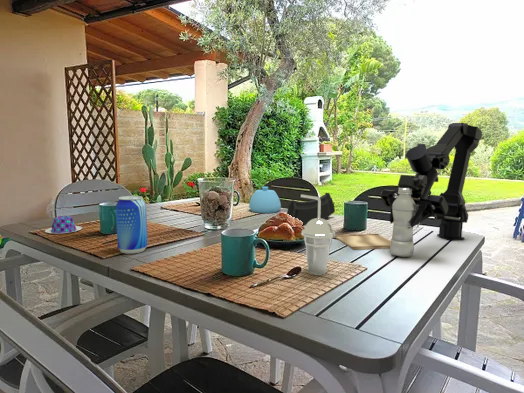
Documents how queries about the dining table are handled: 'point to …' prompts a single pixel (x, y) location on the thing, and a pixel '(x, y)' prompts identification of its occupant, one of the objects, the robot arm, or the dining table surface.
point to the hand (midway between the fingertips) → (400, 224)
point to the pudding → (63, 225)
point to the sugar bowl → (265, 201)
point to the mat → (364, 241)
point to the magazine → (311, 209)
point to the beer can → (131, 224)
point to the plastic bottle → (403, 223)
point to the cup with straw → (317, 241)
